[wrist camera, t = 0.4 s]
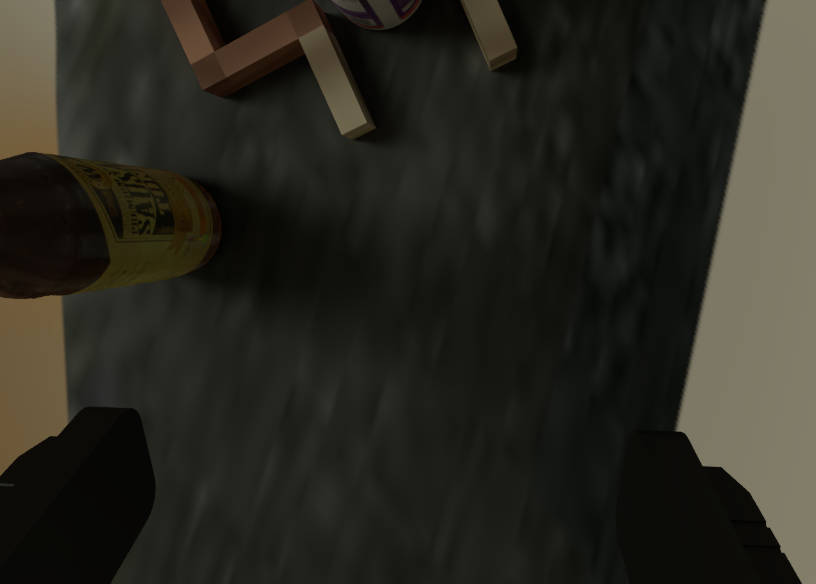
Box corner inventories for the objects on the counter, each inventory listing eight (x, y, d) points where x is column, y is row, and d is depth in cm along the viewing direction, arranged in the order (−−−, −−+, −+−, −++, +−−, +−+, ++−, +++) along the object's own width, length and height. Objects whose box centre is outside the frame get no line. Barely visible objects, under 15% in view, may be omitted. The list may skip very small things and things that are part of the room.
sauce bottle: (247, 220, 38) (-27, 234, 18) (186, 296, 39) (-133, 386, 19) (167, 146, 38) (-191, 82, 18) (108, 224, 39) (-286, 242, 19)
